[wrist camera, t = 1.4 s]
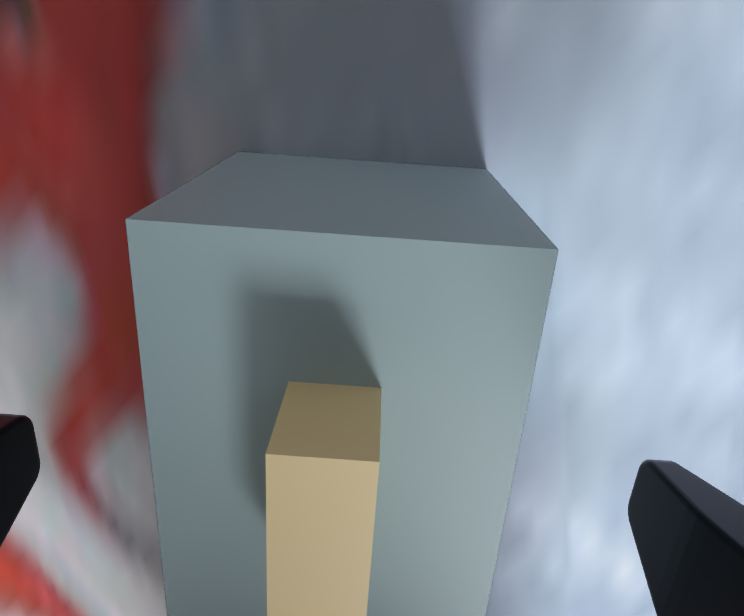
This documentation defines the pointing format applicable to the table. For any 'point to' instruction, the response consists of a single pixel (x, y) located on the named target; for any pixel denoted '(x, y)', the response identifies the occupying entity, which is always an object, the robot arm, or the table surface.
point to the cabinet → (335, 382)
